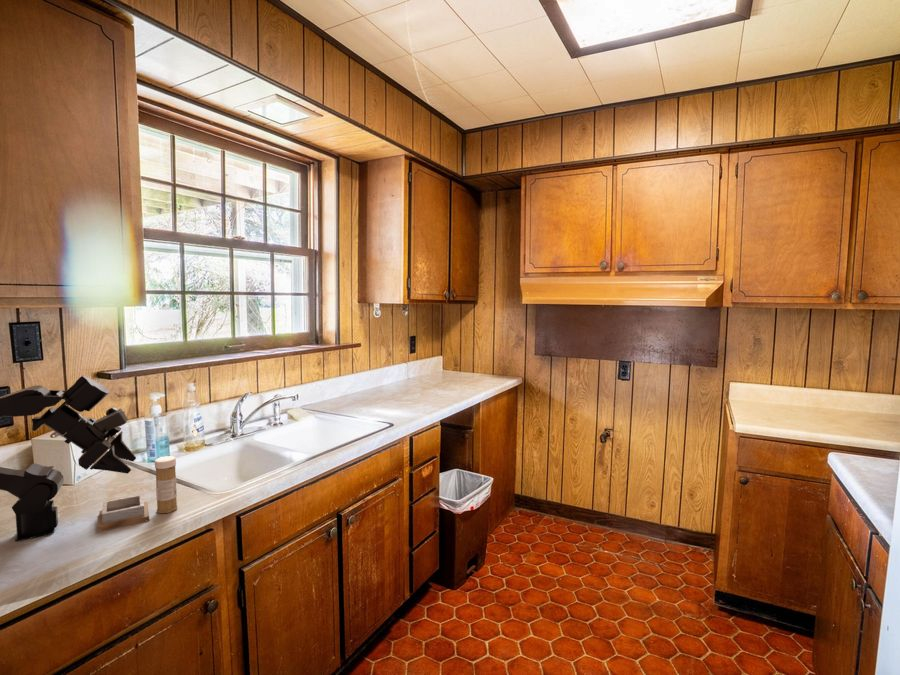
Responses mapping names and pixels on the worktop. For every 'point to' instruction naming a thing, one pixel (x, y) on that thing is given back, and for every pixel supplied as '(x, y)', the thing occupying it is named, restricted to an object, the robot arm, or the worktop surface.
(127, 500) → the collar
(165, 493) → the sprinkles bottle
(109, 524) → the baseplate
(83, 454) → the robot arm
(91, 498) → the worktop surface
